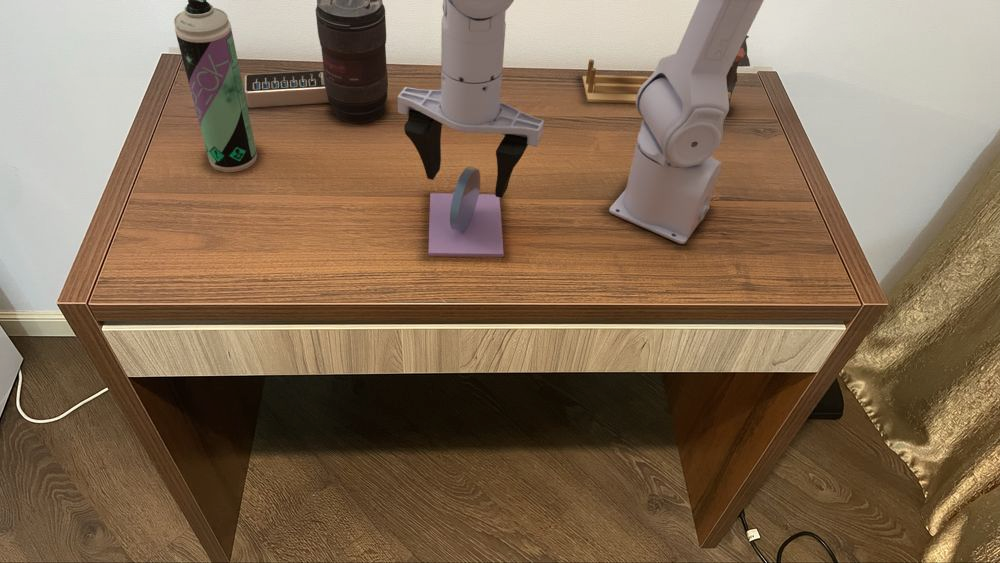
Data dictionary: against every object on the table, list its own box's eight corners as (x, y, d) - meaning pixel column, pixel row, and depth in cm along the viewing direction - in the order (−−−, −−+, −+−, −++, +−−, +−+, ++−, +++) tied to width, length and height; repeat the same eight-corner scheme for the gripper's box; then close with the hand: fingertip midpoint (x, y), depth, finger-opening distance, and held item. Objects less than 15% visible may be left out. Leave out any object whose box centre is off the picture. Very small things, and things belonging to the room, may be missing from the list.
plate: (471, 201, 86) (472, 153, 81) (479, 203, 86) (481, 155, 81) (449, 242, 82) (449, 195, 76) (458, 245, 82) (458, 197, 76)
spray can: (211, 145, 91) (170, -16, 77) (258, 143, 92) (226, -17, 78) (207, 173, 88) (163, 9, 73) (256, 170, 89) (222, 8, 74)
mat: (430, 196, 87) (430, 192, 87) (499, 197, 88) (499, 194, 88) (428, 256, 80) (428, 252, 80) (503, 257, 81) (503, 254, 81)
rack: (657, 81, 108) (664, 56, 106) (666, 104, 104) (672, 78, 101) (582, 78, 108) (586, 53, 105) (587, 102, 103) (591, 76, 100)
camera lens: (323, 126, 96) (309, 14, 85) (331, 91, 101) (319, -18, 90) (387, 128, 96) (382, 17, 85) (391, 93, 102) (386, -15, 91)
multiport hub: (247, 89, 100) (244, 74, 99) (331, 84, 102) (330, 69, 101) (247, 108, 97) (244, 92, 96) (334, 102, 99) (332, 87, 98)
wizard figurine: (687, 98, 106) (710, 17, 97) (724, 96, 107) (750, 16, 98) (711, 133, 100) (737, 50, 91) (749, 130, 101) (779, 48, 92)
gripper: (558, 63, 72) (543, 177, 81) (416, 31, 74) (418, 145, 84) (537, 101, 67) (524, 217, 76) (386, 66, 69) (392, 182, 79)
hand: (467, 182), depth 80 cm, fingers open, 7 cm apart
